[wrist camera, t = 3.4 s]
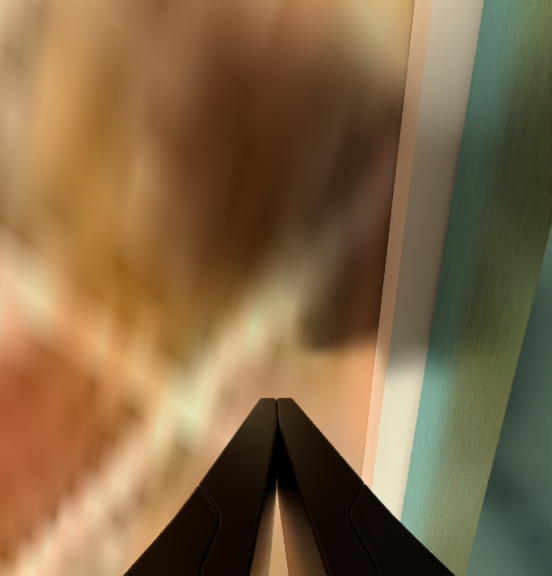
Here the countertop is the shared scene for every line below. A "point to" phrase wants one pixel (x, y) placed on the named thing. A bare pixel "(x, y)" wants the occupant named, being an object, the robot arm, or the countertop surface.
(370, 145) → the countertop surface
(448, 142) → the cream base board
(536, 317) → the teal hinge leaf
